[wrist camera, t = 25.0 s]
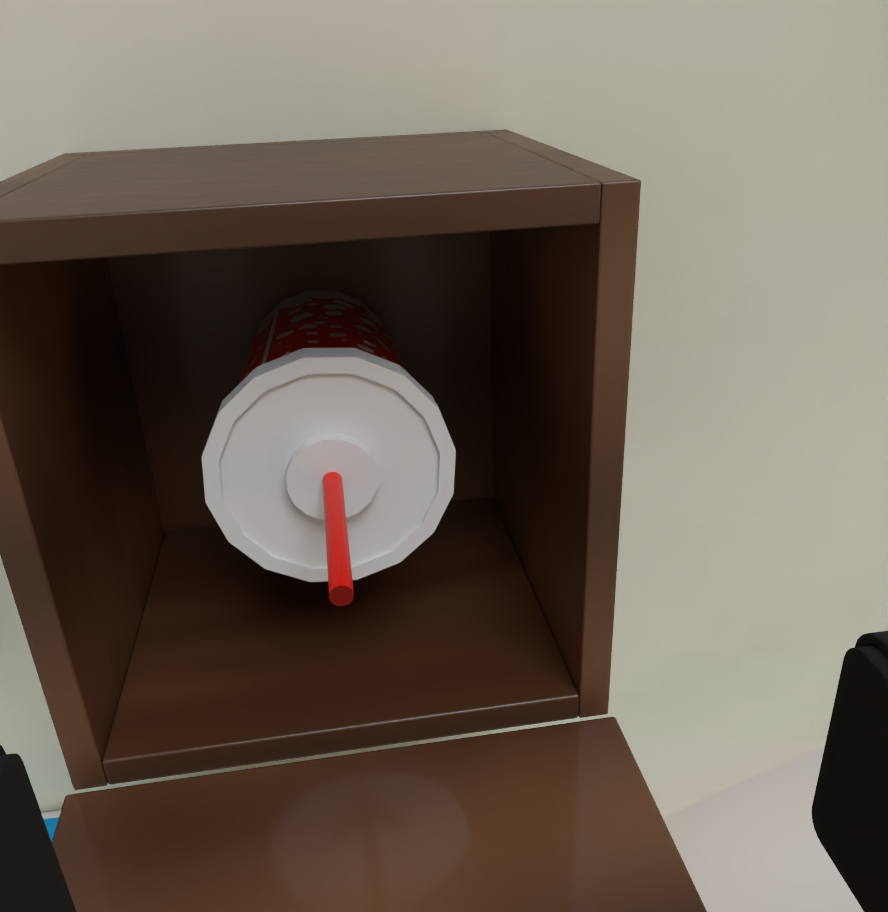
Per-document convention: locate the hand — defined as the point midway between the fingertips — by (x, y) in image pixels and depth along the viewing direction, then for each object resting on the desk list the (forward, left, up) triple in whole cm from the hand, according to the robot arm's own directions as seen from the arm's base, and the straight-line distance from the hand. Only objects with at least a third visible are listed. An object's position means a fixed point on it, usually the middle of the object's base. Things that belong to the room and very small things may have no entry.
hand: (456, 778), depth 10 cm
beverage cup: (+1, +2, -21) cm, 21 cm away
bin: (+1, +2, -21) cm, 21 cm away
